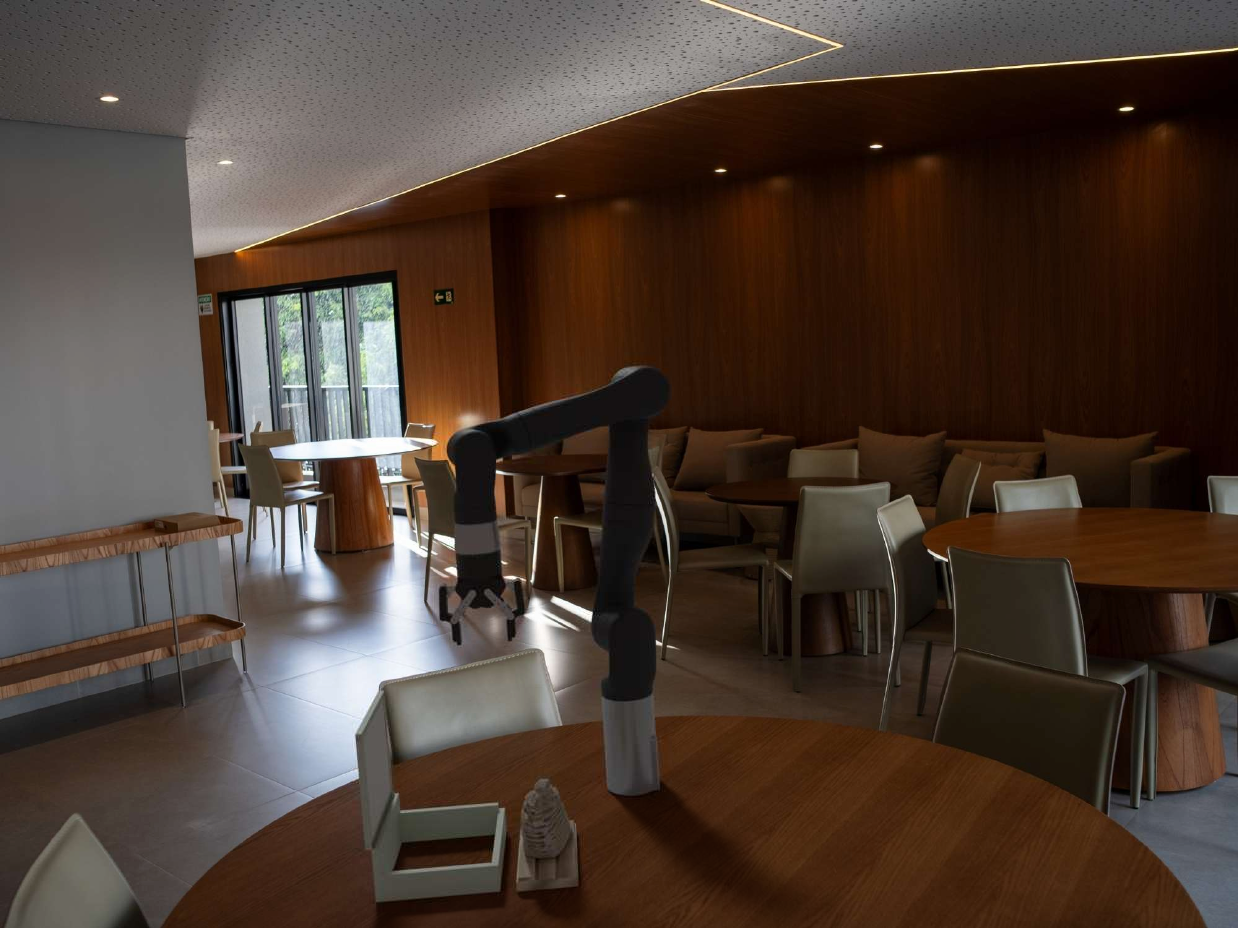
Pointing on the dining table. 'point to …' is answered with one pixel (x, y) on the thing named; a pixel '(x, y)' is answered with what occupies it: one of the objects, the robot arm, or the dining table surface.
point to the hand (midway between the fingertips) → (484, 642)
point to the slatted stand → (549, 867)
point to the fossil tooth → (544, 822)
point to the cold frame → (417, 826)
